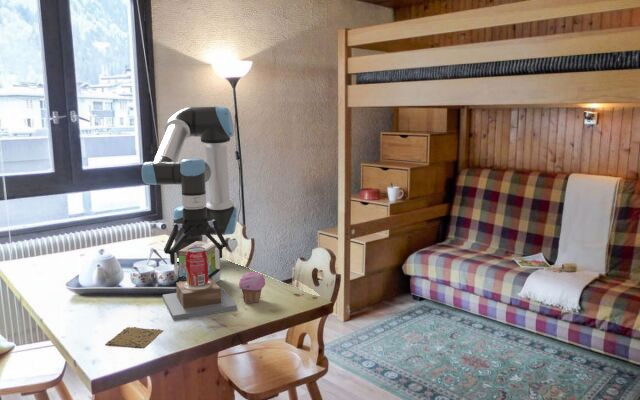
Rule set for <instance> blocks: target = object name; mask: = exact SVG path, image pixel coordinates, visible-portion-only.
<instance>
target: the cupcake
mask: <svg viewBox="0 0 640 400" xmlns="http://www.w3.org/2000/svg"><path fill="white" fill-rule="evenodd" d="M265 279H266V278H265V277H264V274H262V273H258V272H254V271H247V272H245V273H243V275H242V276H241V278H240V279H239V282H238V287H239V289H241V292H242V297H243V301H244V303H246V304H253V303H254V304H255V303H259V301H260V300H261V295H262V289H264V287H265V286H266V280H265Z"/></svg>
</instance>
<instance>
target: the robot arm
mask: <svg viewBox="0 0 640 400" xmlns="http://www.w3.org/2000/svg"><path fill="white" fill-rule="evenodd" d="M164 126H165V127H164V135H163V137H162V140H161V142H160V144H159V147H158V149H157V152H156V154H155V155H154V159H153V160H152V161H145V162H144V163H143V164H142V167H141V179H142V182H143V183H144V184H145V185H154V186H157V185H158V186H160V185H181V203H182V205H180V206H177V207H176V208H174V210H173V215H172V216H173V218H172V221H173V222H172V223H173V224H172V230H171V233H170V234H169V235H170V236H169V237H168V240H167V242H166V244H165V245H164V249H163V252H164V254H166V255H169V258H170V259H169V261H170V262H169V263H170V264H171V265H173V272H174V275H175V276H177V275H178V276H179V263H177V258H179V250H181V249H183V248H185V247H187V246H189V245H190V244H192V243H194V242H196V241H202V242H204V240H203V236H206V237H207V239H208V240H210V242H213V243H214V244H215V245H216V246H217V248H215V264H216V268H217V269H220V270H221V259H223V249H224V248H227V247H228V245H229V244H228V242H227V241H226V239H225V238H224V236H225V235H228V236H229V235H230V236H231V235H233V234H234V233H235V232H236V228H237V222H238V212H239V210H238V207H237V206H234V201H232V199H230V198H231V197H230V181H229V179H230V178H229V164H228V162H229V161H228V147H227V146H228V144H229V142H230V141H231V138H232V137H233V136H234V133H235V131H234V121H233V117H232V113H231V111H230V109H229V108H228V107H225V106H188V107H185V108H182V109H180V110H178V111H177V112H176V113H174V114H173V115H171V116H170V117H169V118H168V120H167V121H166V123H165V125H164ZM191 137H200V143H201V144H203V145H204V149H205V161H204V159H203V158H196V157H195V158H192V157H191V158H184V159H181V160H180V161H178V160H179V157H180V155H181V151H182V149H183V146H184V143H185V141H187V140H188V139H189V138H191ZM206 183H207V193H208V200H207V193H206ZM214 236H217V238H218V239H219V241H220V242H221V243H220V242H219V241H218V240H216V239H215V238H214ZM219 243H220V244H219Z"/></svg>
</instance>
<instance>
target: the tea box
mask: <svg viewBox="0 0 640 400" xmlns="http://www.w3.org/2000/svg"><path fill="white" fill-rule="evenodd" d="M218 243H219V244H221V243H220V242H218ZM192 247H203V248H205V251H206V252H207V257H208V278H212V279H213V280H214V281H215V282H216V283H217V282H219V281H220V280H221V268H220V269H217V268H216V264H215V248H217V246H216V245H215V244H214V243H213V242H212V241H203V242H202V241H196V242H194V243H192V244H190V245H189V246H187V247H185V248H183V249H181V250H179V263H178V278H179V280H178V282H184V281H187V278H186V253H187V249H189V248H192Z"/></svg>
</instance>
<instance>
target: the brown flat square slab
mask: <svg viewBox="0 0 640 400" xmlns="http://www.w3.org/2000/svg"><path fill="white" fill-rule="evenodd" d="M163 332H164V330H162V329H159V328H158V329H157V328H155V329H154V328H143V327H142V328H141V327H136V326H134V327H133V326H132V327H130V326H129V327H128V326H127V327H125V328H124V329H122V331H120V332H119V333H118V334H116V335H115V336H114V337H113V338H111V339H110V340H108V341H107V342H106V343H105V344H104V345H105V346H109V347H110V346H111V347H122V348H132V349H133V348H135V349H145V348H146V347H148V346H149V345H150V344H151V343H152V342H153V341H154V340H156V339H157V336H158V335H159V334H160V335H161V334H162V333H163ZM160 335H159V336H160ZM159 336H158V337H159Z"/></svg>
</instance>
